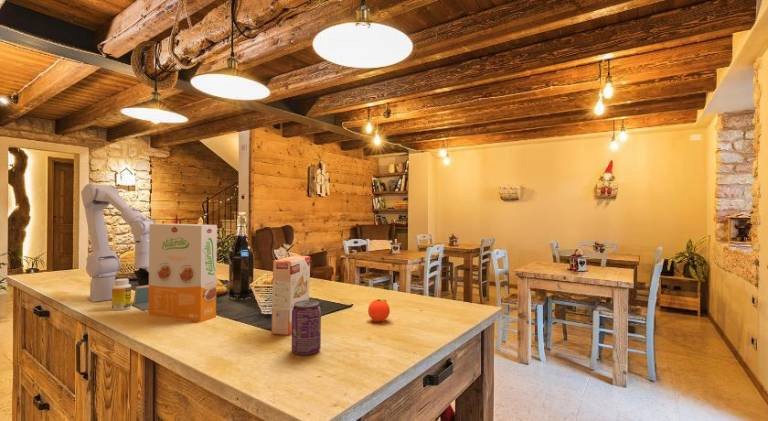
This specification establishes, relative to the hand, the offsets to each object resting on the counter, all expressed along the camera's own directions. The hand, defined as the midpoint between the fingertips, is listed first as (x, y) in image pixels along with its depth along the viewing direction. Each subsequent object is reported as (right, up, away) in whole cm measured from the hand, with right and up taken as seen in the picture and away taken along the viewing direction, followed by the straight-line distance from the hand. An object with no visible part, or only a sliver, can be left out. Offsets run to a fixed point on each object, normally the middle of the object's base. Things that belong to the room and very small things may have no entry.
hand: (143, 289), depth 140 cm
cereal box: (+23, -6, -16) cm, 29 cm away
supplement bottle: (-2, -5, -8) cm, 10 cm away
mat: (+5, -5, -4) cm, 8 cm away
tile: (0, -5, 0) cm, 5 cm away
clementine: (+88, -6, -20) cm, 90 cm away
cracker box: (+62, -6, -28) cm, 68 cm away
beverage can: (+70, -6, -46) cm, 84 cm away
